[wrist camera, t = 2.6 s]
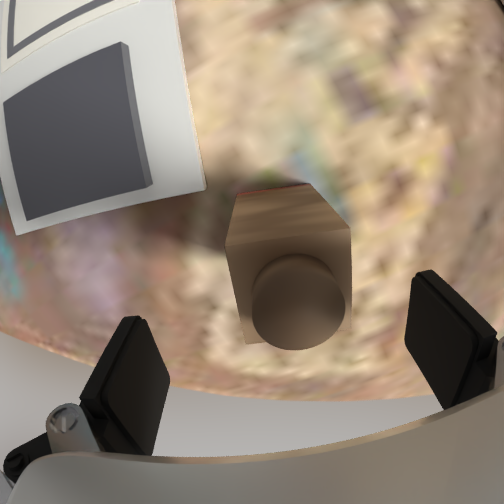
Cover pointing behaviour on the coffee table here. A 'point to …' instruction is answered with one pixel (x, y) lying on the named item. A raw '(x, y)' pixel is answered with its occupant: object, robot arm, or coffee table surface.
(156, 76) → the desk board
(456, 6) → the coffee table surface
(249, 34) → the coffee table surface
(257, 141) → the coffee table surface
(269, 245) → the stamp
